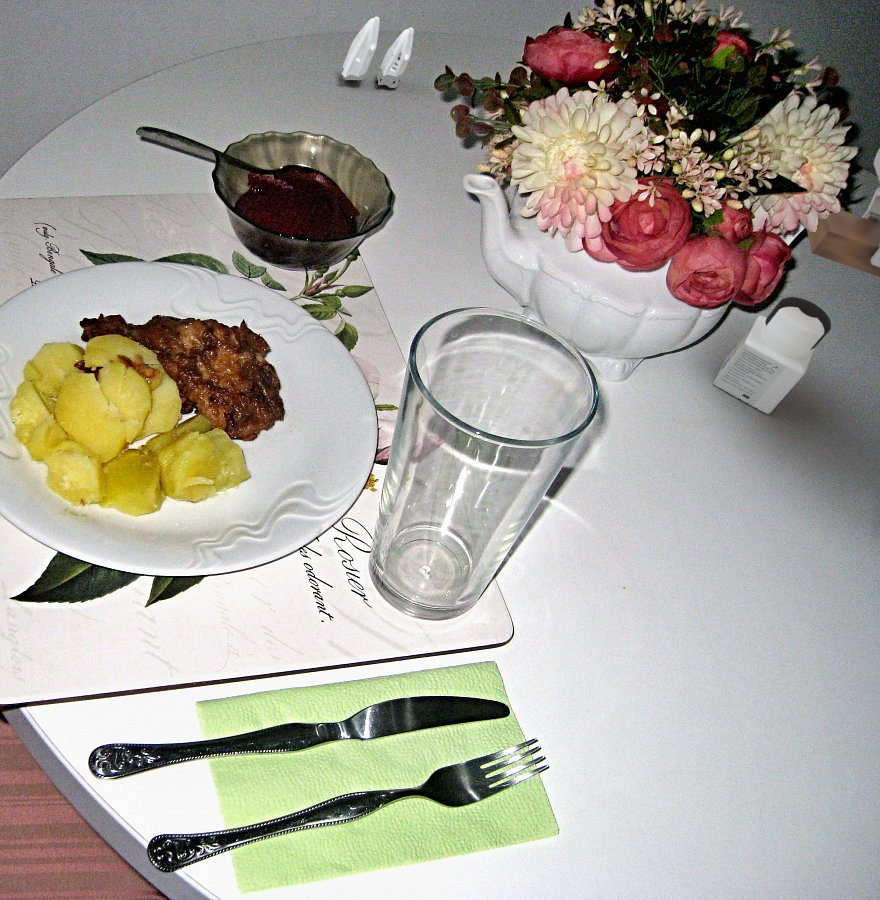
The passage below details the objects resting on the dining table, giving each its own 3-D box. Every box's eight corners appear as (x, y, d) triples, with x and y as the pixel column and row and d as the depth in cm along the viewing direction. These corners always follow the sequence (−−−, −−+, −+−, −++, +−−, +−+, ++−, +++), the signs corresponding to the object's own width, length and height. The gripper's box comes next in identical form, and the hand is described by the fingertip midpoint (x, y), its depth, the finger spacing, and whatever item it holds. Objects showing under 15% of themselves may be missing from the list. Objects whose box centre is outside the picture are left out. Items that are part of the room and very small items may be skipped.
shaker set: (339, 88, 149) (356, 22, 141) (332, 75, 152) (348, 9, 144) (404, 91, 153) (424, 27, 145) (395, 79, 156) (415, 15, 147)
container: (726, 356, 121) (785, 281, 111) (780, 386, 119) (845, 312, 109) (711, 384, 116) (771, 308, 107) (767, 416, 114) (834, 341, 105)
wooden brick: (907, 260, 102) (926, 239, 100) (917, 290, 98) (937, 268, 96) (805, 225, 103) (822, 203, 101) (811, 253, 99) (829, 231, 96)
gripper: (1025, 193, 82) (916, 308, 92) (973, 99, 96) (883, 208, 106) (958, 170, 82) (856, 287, 92) (916, 80, 96) (832, 191, 106)
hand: (870, 244), depth 99 cm, fingers closed on wooden brick, 6 cm apart
